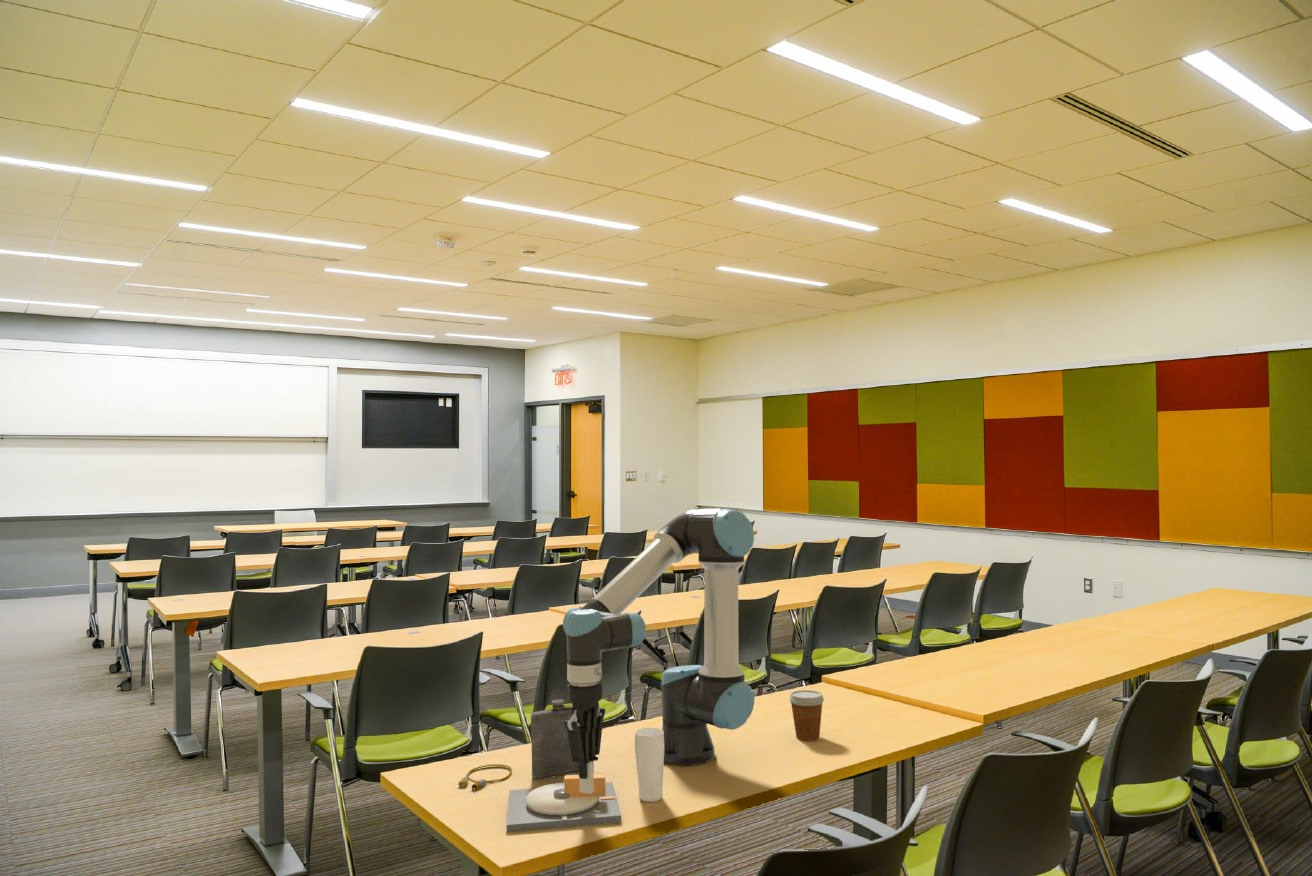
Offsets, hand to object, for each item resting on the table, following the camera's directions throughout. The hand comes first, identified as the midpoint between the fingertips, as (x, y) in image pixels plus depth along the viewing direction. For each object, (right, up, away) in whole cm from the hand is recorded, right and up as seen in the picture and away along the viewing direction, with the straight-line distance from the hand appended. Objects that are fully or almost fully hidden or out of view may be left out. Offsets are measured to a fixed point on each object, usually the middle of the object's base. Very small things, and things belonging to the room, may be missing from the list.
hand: (586, 792), depth 183 cm
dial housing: (-6, -5, +4) cm, 9 cm away
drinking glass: (+14, -5, +9) cm, 17 cm away
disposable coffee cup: (+57, -6, +50) cm, 77 cm away
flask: (-9, -7, +26) cm, 29 cm away
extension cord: (-28, -8, +25) cm, 38 cm away
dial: (-5, -4, +4) cm, 7 cm away
